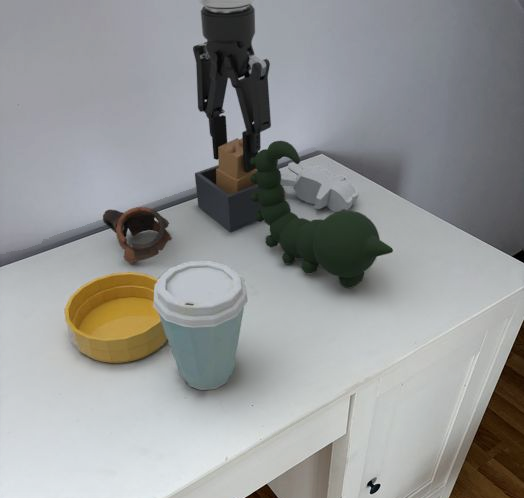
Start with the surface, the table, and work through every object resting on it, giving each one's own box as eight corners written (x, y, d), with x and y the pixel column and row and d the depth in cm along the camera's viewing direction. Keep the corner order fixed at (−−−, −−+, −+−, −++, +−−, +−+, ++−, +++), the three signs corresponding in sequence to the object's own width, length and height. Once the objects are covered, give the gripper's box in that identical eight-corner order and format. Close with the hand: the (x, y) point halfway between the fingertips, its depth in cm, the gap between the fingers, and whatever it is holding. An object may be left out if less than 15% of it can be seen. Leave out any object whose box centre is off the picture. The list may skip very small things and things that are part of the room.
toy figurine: (245, 258, 93) (368, 316, 79) (231, 144, 81) (375, 188, 66) (284, 235, 98) (407, 286, 83) (277, 124, 85) (420, 161, 71)
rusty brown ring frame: (183, 236, 96) (179, 212, 88) (160, 284, 93) (154, 263, 85) (118, 210, 96) (108, 184, 88) (93, 257, 94) (81, 234, 86)
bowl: (52, 332, 78) (43, 307, 75) (133, 284, 86) (128, 260, 83) (114, 381, 72) (106, 356, 68) (196, 325, 79) (193, 300, 76)
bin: (198, 207, 102) (194, 173, 97) (245, 189, 106) (244, 155, 101) (230, 232, 95) (228, 197, 91) (279, 212, 100) (279, 178, 95)
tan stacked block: (214, 203, 100) (213, 140, 91) (234, 193, 103) (235, 130, 94) (236, 216, 98) (237, 152, 89) (256, 205, 101) (259, 142, 92)
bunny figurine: (342, 201, 94) (268, 169, 99) (337, 227, 98) (265, 194, 103) (368, 178, 100) (296, 148, 105) (361, 203, 104) (293, 173, 108)
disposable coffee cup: (180, 340, 77) (165, 247, 66) (258, 348, 75) (255, 255, 65) (157, 399, 69) (136, 305, 59) (243, 409, 68) (237, 315, 57)
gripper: (298, 11, 75) (294, 172, 92) (199, -11, 85) (211, 139, 101) (260, 24, 72) (263, 190, 88) (161, -1, 81) (180, 153, 97)
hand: (235, 162), depth 94 cm, fingers open, 6 cm apart
